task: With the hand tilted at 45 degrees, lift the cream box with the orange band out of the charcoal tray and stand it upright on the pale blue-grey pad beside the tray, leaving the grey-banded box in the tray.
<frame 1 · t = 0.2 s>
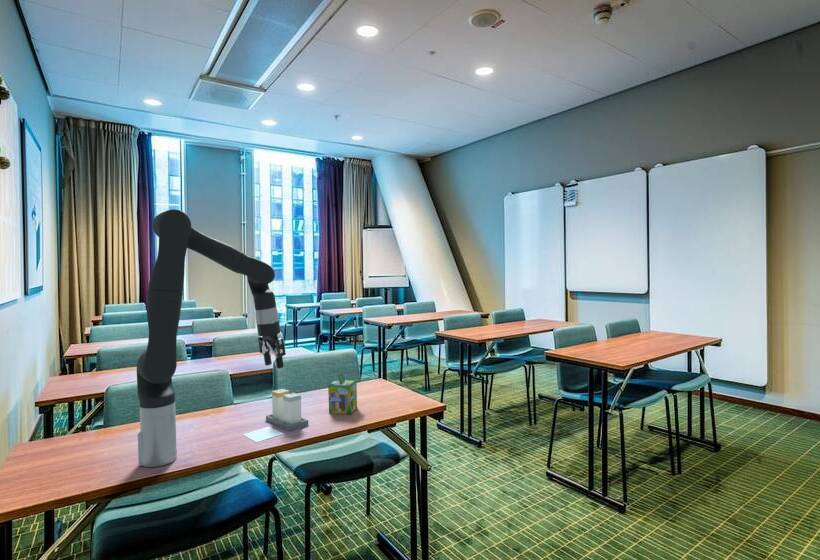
hand: (274, 366, 155), 23 cm above the table, tool pointing down, fingers open, 8 cm apart
orange-band box: (281, 420, 165), resting on charcoal tray
grey-band box: (292, 425, 160), resting on charcoal tray
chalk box: (343, 411, 176), on the table
blue-grey pad: (263, 435, 151), on the table
charcoal tray: (286, 423, 162), on the table
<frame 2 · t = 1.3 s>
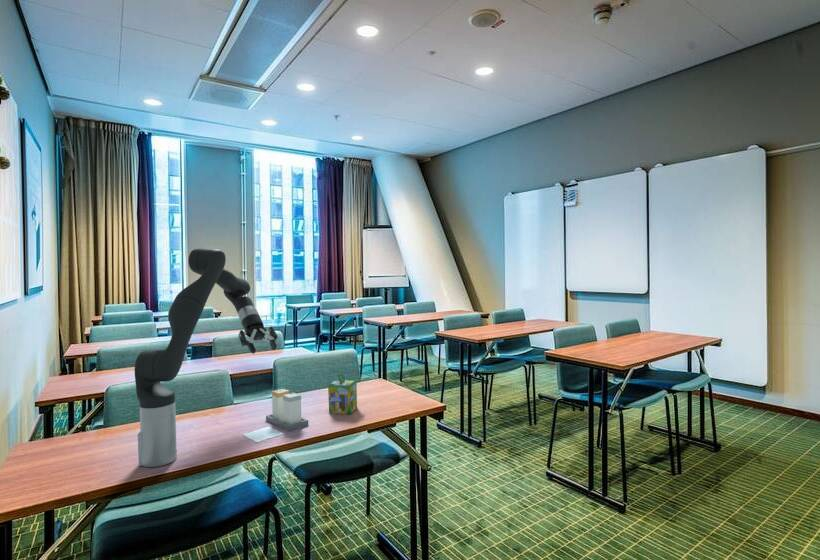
hand: (264, 350, 173), 25 cm above the table, tool tilted 45°, fingers open, 8 cm apart
nothing on the table moved.
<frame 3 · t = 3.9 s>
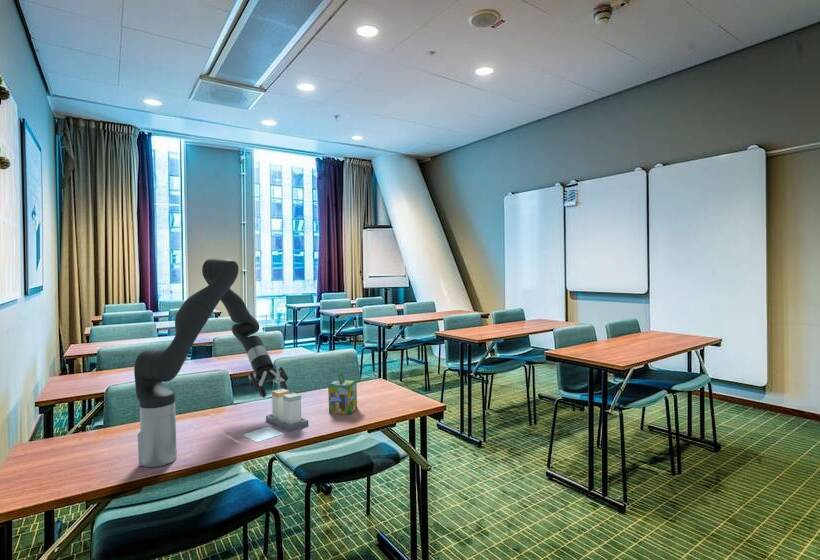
hand: (275, 393, 168), 10 cm above the table, tool tilted 45°, fingers open, 8 cm apart
nothing on the table moved.
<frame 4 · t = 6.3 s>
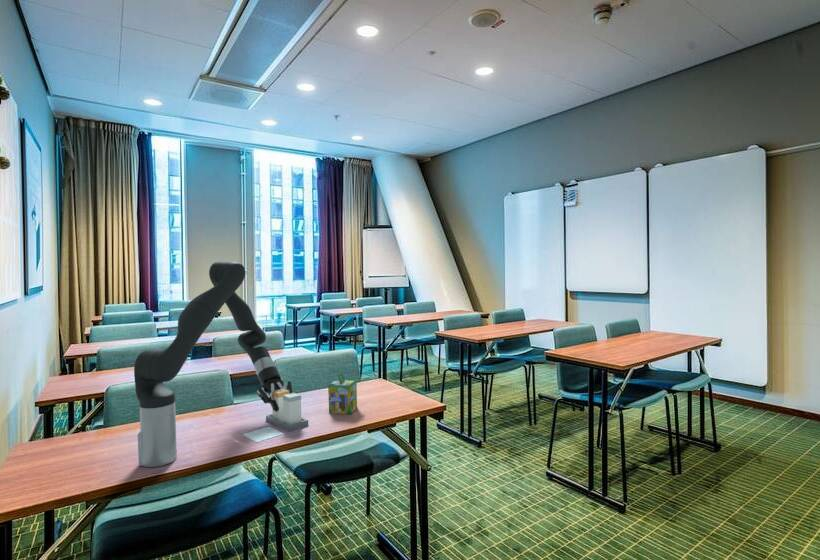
hand: (283, 408, 164), 5 cm above the table, tool tilted 45°, fingers closed on orange-band box, 4 cm apart
orange-band box: (281, 420, 165), resting on charcoal tray, touching gripper
everything else where it was.
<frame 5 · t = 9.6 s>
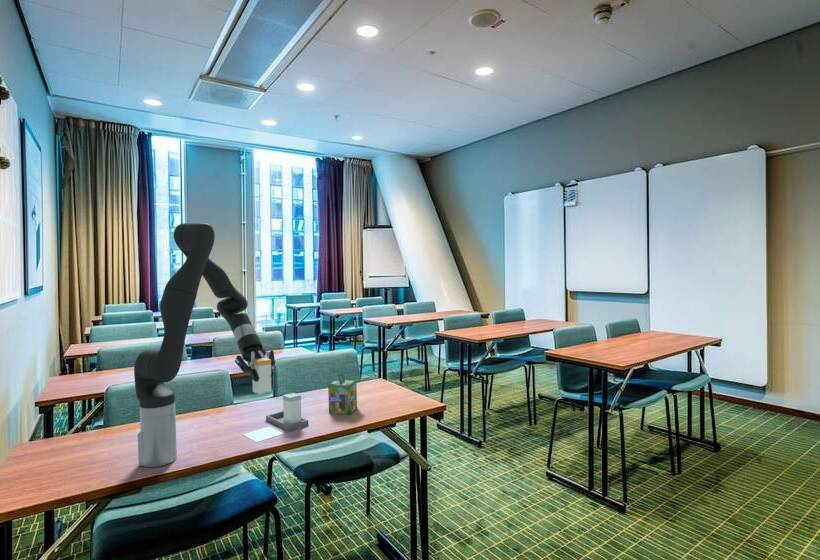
hand: (264, 378, 149), 20 cm above the table, tool tilted 45°, fingers closed on orange-band box, 4 cm apart
orange-band box: (262, 391, 151), point 15 cm above the table, touching gripper
everything else where it was.
when the fingers open (7 cm above the table, at t = 12.9 s): orange-band box drops 1 cm, resting on blue-grey pad.
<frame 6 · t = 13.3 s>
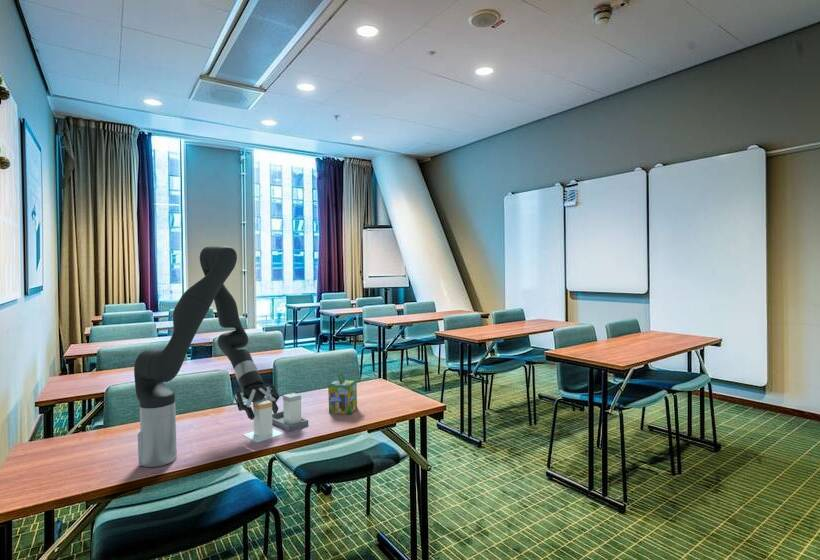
hand: (264, 415, 150), 7 cm above the table, tool tilted 45°, fingers open, 8 cm apart
orange-band box: (263, 434, 151), resting on blue-grey pad
everything else where it was.
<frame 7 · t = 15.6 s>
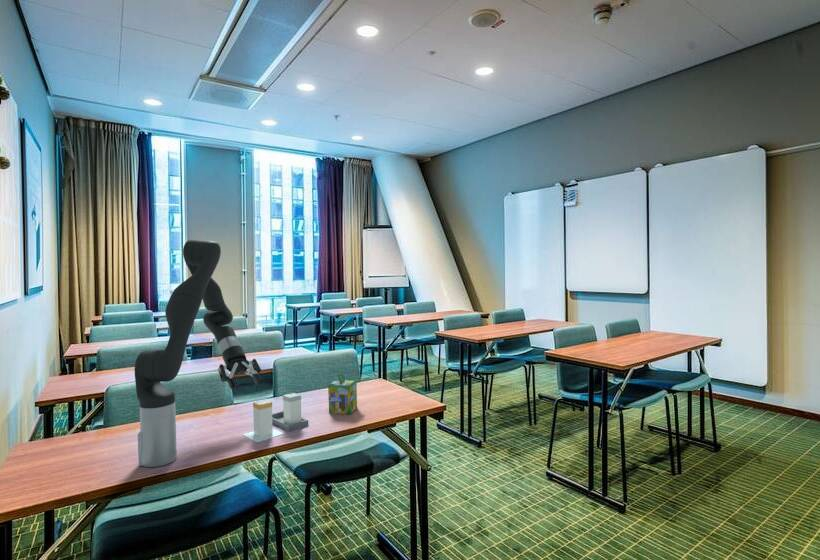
hand: (246, 386, 159), 15 cm above the table, tool tilted 45°, fingers open, 8 cm apart
nothing on the table moved.
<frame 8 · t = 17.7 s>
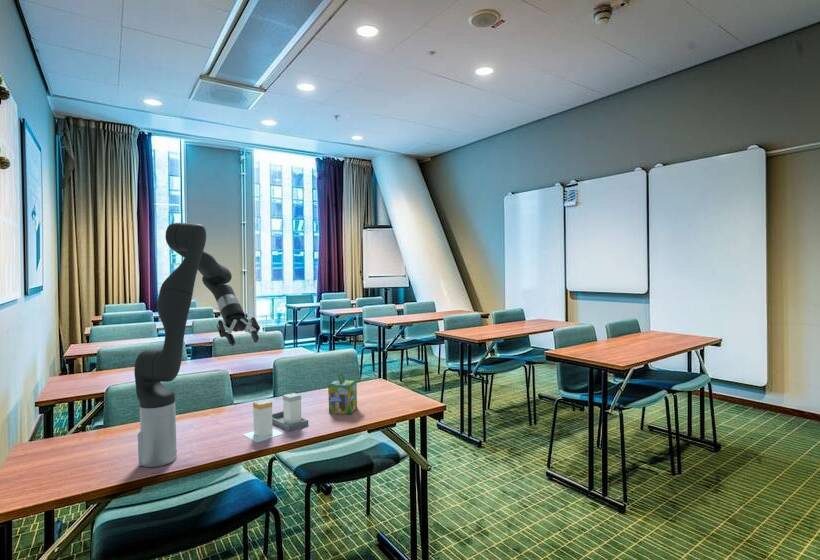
hand: (245, 342, 159), 31 cm above the table, tool tilted 45°, fingers open, 8 cm apart
nothing on the table moved.
at the end: orange-band box inside the target area on the blue-grey pad (0.0 cm from its centre), point 0.5 cm above the blue-grey pad's base; orange-band box tilted 0°; the gripper is holding nothing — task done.
